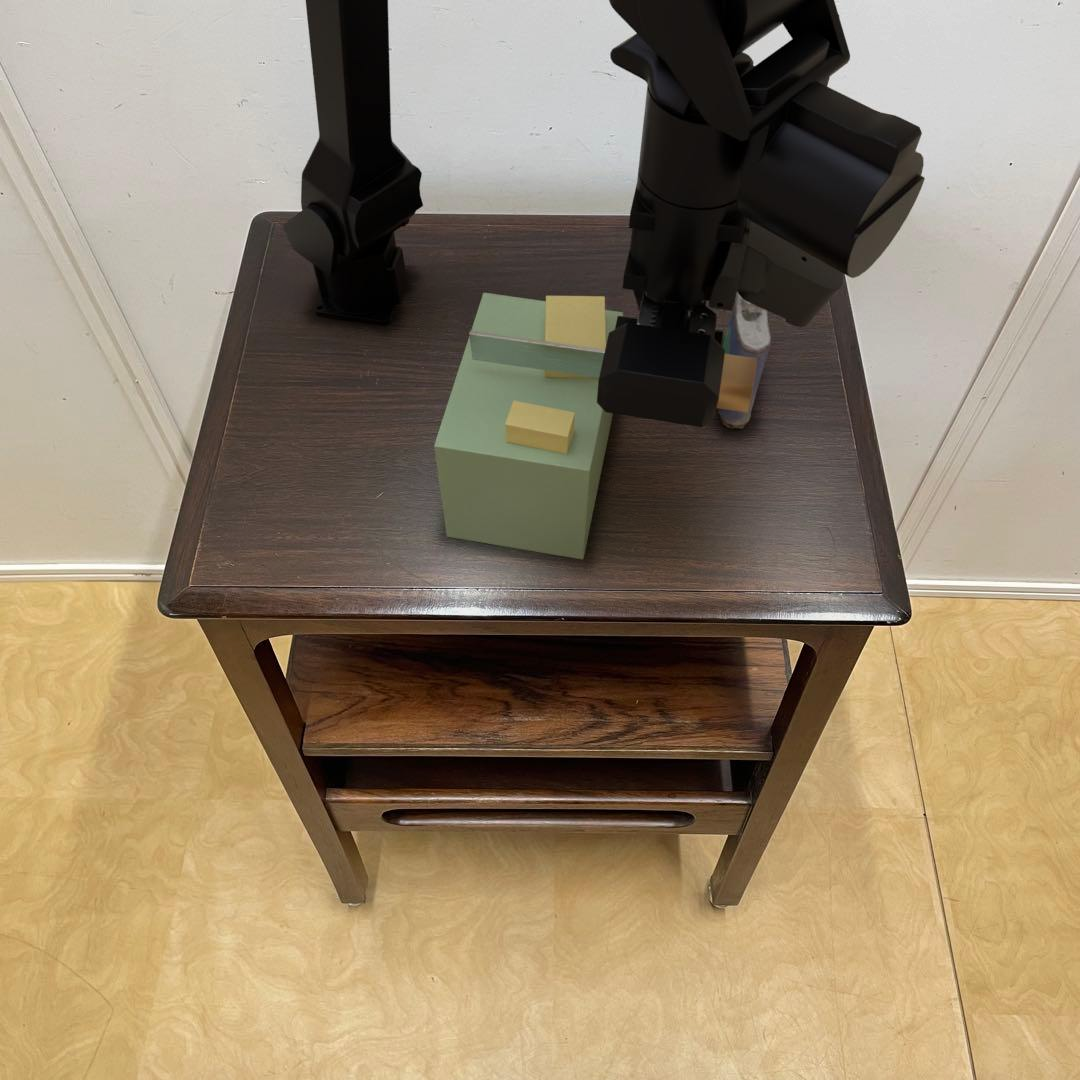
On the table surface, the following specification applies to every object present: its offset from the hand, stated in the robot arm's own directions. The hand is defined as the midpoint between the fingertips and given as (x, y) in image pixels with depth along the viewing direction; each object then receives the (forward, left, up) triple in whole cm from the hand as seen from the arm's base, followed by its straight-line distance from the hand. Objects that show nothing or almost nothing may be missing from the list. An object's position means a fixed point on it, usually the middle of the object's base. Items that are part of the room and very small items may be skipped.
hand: (661, 381), depth 63 cm
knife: (-3, 0, -1) cm, 3 cm away
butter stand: (-8, +1, -13) cm, 15 cm away
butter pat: (-7, -4, -2) cm, 8 cm away
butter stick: (-6, +4, -2) cm, 8 cm away
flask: (+6, +12, -13) cm, 19 cm away
